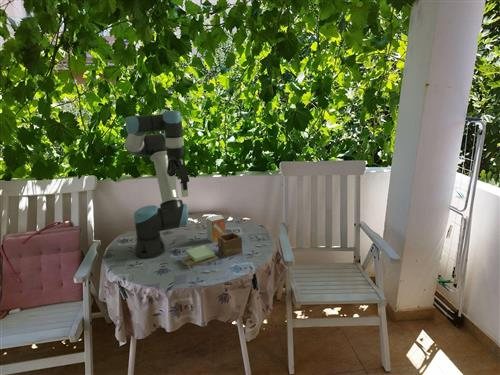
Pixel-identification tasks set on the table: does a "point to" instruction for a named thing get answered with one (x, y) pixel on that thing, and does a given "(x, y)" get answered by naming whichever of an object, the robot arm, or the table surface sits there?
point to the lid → (200, 253)
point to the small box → (215, 227)
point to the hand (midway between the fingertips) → (179, 193)
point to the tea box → (230, 244)
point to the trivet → (193, 263)
